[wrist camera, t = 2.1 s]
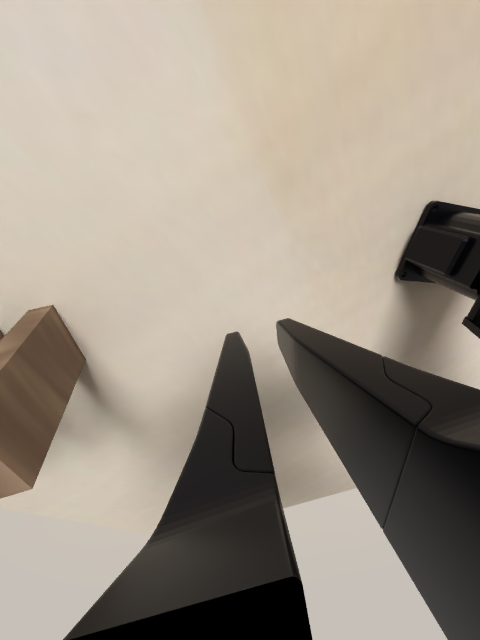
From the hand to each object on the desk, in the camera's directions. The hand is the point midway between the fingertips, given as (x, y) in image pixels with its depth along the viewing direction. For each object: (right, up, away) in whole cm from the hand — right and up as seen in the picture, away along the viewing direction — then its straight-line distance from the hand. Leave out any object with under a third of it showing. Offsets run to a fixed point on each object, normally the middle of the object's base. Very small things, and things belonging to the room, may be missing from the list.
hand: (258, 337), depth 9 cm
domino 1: (-14, -1, +11) cm, 18 cm away
